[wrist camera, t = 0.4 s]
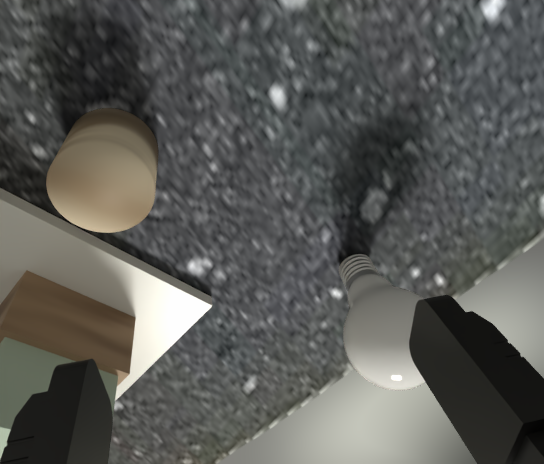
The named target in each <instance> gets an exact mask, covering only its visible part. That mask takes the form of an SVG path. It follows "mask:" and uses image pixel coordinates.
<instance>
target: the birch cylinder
mask: <svg viewBox="0 0 544 464" xmlns="http://www.w3.org/2000/svg"><path fill="white" fill-rule="evenodd" d="M157 165H158V145H157V141H156V139H155V136H154V134H153V133H152V131H151V130H150V128H149V127H148V126H147V125H146V124H145V123H144V122H143V121H142V120H141V119H139V118H138V117H136V116H135V115H133V114H131V113H129V112H126V111H123V110H120V109H114V108H102V109H96V110H93V111H90V112H88V113H86V114H84V115H83V116H81V117H80V118H79V119H78V120H77V121H76V122H75V124H74V125H73V127H72V128H71V130H70V132H69V134H68V136H67V137H66V139H65V141H64V143H63V145H62V146H61V148H60V150H59V152H58V153H57V155H56V157H55V159H54V161H53V162H52V164H51V166H50V168H49V171H48V173H47V179H46V186H47V192H48V195H49V198H50V200H51V202H52V204H53V205H54V207H55V208H56V209H57V211H58V212H59V213H60V214H61V215H62V216H63V217H64V218H66V219H67V220H68V221H70V222H71V223H73V224H75V225H77V226H79V227H81V228H84V229H87V230H90V231H95V232H103V233H111V232H119V231H123V230H126V229H129V228H131V227H133V226H135V225H137V224H138V223H140V222H141V221H142V220H143V219H144V218H145V217H146V216H147V215H148V213H149V212H150V210H151V208H152V206H153V203H154V198H155V188H156V176H157Z"/></svg>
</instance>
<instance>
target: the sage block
mask: <svg viewBox="0 0 544 464" xmlns="http://www.w3.org/2000/svg"><path fill="white" fill-rule="evenodd" d="M71 362H76V361H74V360H71V359H68V358H65V357H62V356H59V355H56V354H53V353H51V352H48V351H45V350H42V349H39V348H36V347H33V346H30V345H28V344H25V343H22V342H19V341H16V340H13V339H10V338H7V337H5V338H4V339H3V340H2V341H1V343H0V459H1V456H2V453H3V451H4V448H5V447H6V446H7V439H8V436H9V433H10V430H11V427H12V425H13V422H14V419H15V417H16V415H17V414H18V413H19V411H20V410H21V409H22V407H23V406H24V405H25V403H26V402H27V401H28V399H29V398H30V397H31V396H32V394H36V393H41V392H46V391H48V388H49V384H50V381H51V377H52V374H53V371H54V369H55V367H56V366H57V365H60V364H65V363H71ZM98 370H99V372H100V375H101V378H102V380H103V383H104V385H105V388H106V391H107V393H108V396H109V398H110V402H111V406H112V417H113V411H114V404H115V397H116V389H117V382H118V376H117V375H114V374H111V373H108V372H105V371H102V370H100V369H98Z"/></svg>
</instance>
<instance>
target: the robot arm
mask: <svg viewBox="0 0 544 464" xmlns="http://www.w3.org/2000/svg"><path fill="white" fill-rule="evenodd" d="M409 349H410V354H411V357H412V360H413V362H414V364H415V366H416V368H417V369H418V371H419V372H420V374H421V376H422V377H423V379H424V380H425V382H426V383H427V385H428V386H429V388H430V390H431V391H432V393H433V394H434V396H435V398H436V399H437V401H438V402H439V404H440V405H441V407H442V408H443V410H444V412H445V413H446V415H447V416H448V418H449V419H450V421H451V423H452V424H453V426H454V428H455V429H456V431H457V432H458V434H459V435H460V437H461V438H462V440H463V442H464V443H465V445H466V446H467V448H468V450H469V451H470V453H471V454H472V456H473V457H474V459H475V461H476V462H477V464H544V378H543V377H542V376H541V375H540V374H539V373H538V372H537V371H536V370H535V369H534V368H533V367H532V366H531V365H530V363H529V362H528V361H527V360H526V359H525V358H524V357H521V356H520V353H519V352H518V351H517V350H516V349H515V347H514V346H512V344H509V343H508V340H507V339H506V338H505V337H504V336H503V335H502V334H501V332H500V331H499V330H498V329H497V328H496V327H495V326H494V325H493V324H492V323H490V322H489V321H487V320H486V319H484V318H482V317H481V316H479V315H478V314H476V313H474V312H465V311H464V310H463V309H462V308H461V306H460V305H459V304H458V303H457V302H456V301H455V300H454V299H453V298H452V297H451V296H449V295H443V296H438V297H433V298H427V299H422V300H419V301H418V302H417V303H416V307H415V312H414V318H413V323H412V328H411V334H410V339H409ZM112 423H113V417H112V406H111V402H110V398H109V396H108V393H107V391H106V388H105V385H104V383H103V380H102V378H101V375H100V372H99V370H98V367H97V365H96V362H95V361H94V360H93V359H87V360H82V361H76V362H71V363H65V364H60V365H57V366H56V367H55V369H54V371H53V374H52V377H51V381H50V384H49V388H48V391H46V392H41V393H36V394H32V396H31V397H30V398H29V399H28V401H27V402H26V403H25V405H24V406H23V407H22V409H21V410H20V411H19V413H18V414H17V415H16V417H15V419H14V422H13V425H12V427H11V430H10V433H9V436H8V439H7V446H6V447H5V448H4V451H3V453H2V456H1V459H0V464H108V458H109V450H110V442H111V434H112Z"/></svg>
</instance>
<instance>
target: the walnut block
mask: <svg viewBox="0 0 544 464" xmlns="http://www.w3.org/2000/svg"><path fill="white" fill-rule="evenodd" d="M135 320H136V318H135V317H133V316H131V315H129V314H126V313H124V312H122V311H119V310H117V309H115V308H112V307H110V306H108V305H106V304H103V303H101V302H99V301H96V300H94V299H92V298H89V297H87V296H85V295H83V294H80V293H78V292H76V291H73V290H71V289H69V288H66V287H64V286H62V285H60V284H57V283H55V282H53V281H50V280H48V279H46V278H43V277H41V276H39V275H37V274H34V273H32V272H30V271H27V270H26V272H25V273H24V274H23V276H22V277H21V278H20V279H19V281H18V282H17V283H16V285H15V286H14V287H13V289H12V290H11V291H10V293H9V294H8V295H7V297H6V298H5V299H4V300H3V302H2V303H1V304H0V343H1V341H2V340H3V339H4V338H5V337H7V338H10V339H13V340H16V341H19V342H22V343H25V344H28V345H30V346H33V347H36V348H39V349H42V350H45V351H48V352H51V353H53V354H56V355H59V356H62V357H65V358H68V359H71V360H74V361H82V360H87V359H93V360H94V361H95V362H96V365H97V367H98V369H100V370H102V371H105V372H108V373H111V374H114V375H117V376H118V382H117V386H118V385H119V384H120V383H121V382H122V381H123V380H124V379H125V378H126V377H127V376H128V375H129V374H130V366H131V357H132V348H133V339H134V329H135Z"/></svg>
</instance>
